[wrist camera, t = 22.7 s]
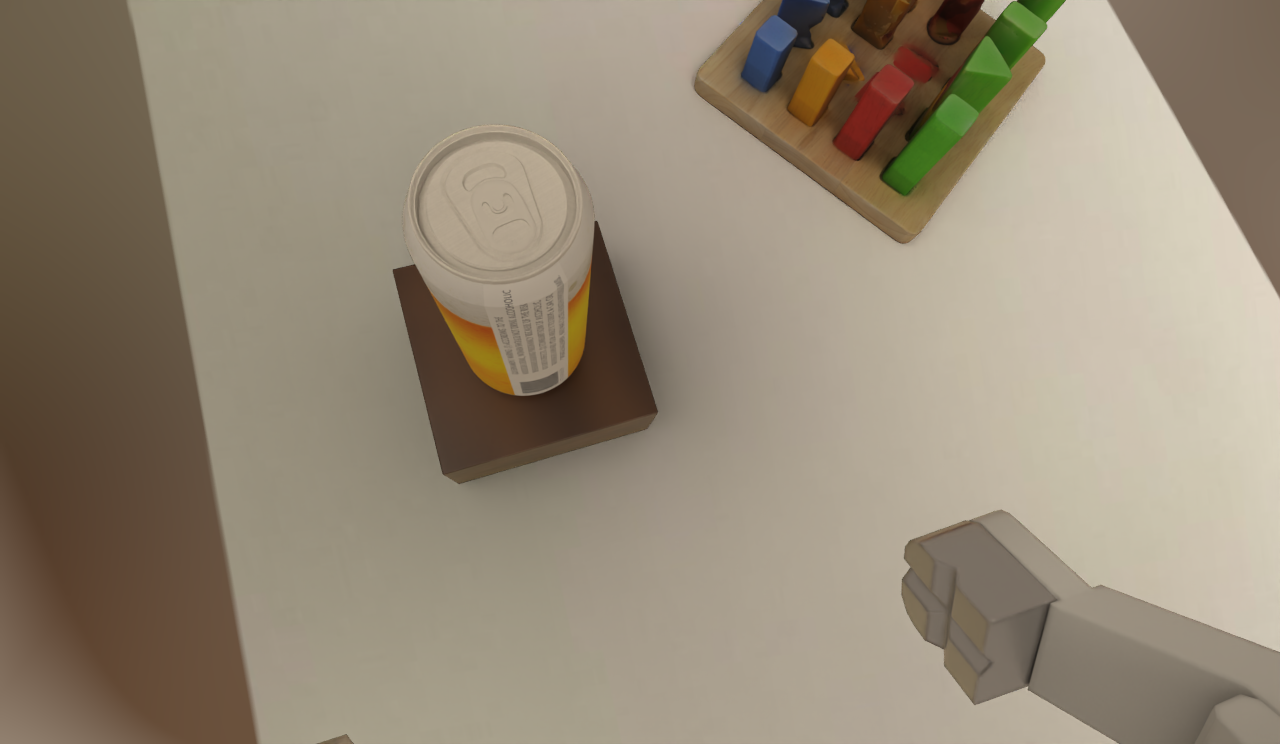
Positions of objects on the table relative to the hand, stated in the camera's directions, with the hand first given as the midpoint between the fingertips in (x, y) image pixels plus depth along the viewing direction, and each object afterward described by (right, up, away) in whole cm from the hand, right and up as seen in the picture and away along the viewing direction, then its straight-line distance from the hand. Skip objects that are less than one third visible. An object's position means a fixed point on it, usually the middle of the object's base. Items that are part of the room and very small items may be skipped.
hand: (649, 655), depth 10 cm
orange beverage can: (-6, +6, +26) cm, 28 cm away
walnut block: (-7, +4, +31) cm, 32 cm away
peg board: (+15, +24, +38) cm, 47 cm away
